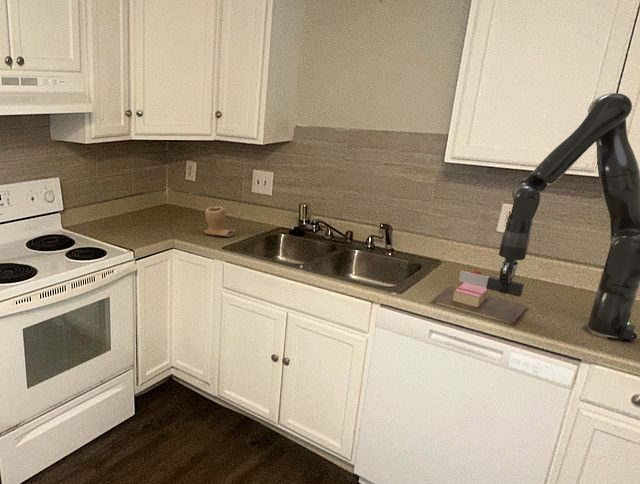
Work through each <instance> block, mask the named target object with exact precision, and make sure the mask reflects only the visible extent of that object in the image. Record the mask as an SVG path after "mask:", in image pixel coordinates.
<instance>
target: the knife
mask: <svg viewBox="0 0 640 484" xmlns="http://www.w3.org/2000/svg"><path fill="white" fill-rule="evenodd" d="M499 278H500V277H495V276H491V275H490V276H487V275H478V274H474V273H470V272H469V271H466V270H460V273H459V278H458V282H460V283H469V284H473V285H477V286H481V287H485V288H486V289H489V291H490V290H491V291H493V292H499V288H500V283H501V282H499ZM509 282H510V283H509V284H508V289H507V293H506V294H505V295H510V296H515V297H519V298H520V297H521V296H522V294H523V291H524V286H525V284H524V283H521V282H517V281H513V280H512V281H509ZM499 293H500V292H499Z"/></svg>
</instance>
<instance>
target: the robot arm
mask: <svg viewBox="0 0 640 484" xmlns="http://www.w3.org/2000/svg"><path fill="white" fill-rule="evenodd" d="M589 104H590V105H589V106H588V109H587V115H586V117H585V118H584V119H583V121H582V122H581V124H579V126H578V127H577V128H576V129H575V130H574V131H573V132H572V133H571V134H570V135H569V136H568V137H567V138H566V139H564V140H563V141H562V142H561V143H560V144H559V145H557V146H556V147H555V148H554V149H553V150H552V151H551V152H550V153H549V154H548V155H547V156H546V157H545V158H544V159H543V160H542V161H541V162H540V163H539V164H538V165H537V166H536V167H535V169H534V170H533V171H532V172H530V173H529V174H528V175H526V176H525V177H524V178H522V179H521V181H519V182H518V183H517V184H516V185H515V186H514V188H513V189H512V191H511V197H512V200H513V203H512V208H511V212H510V213H509V215H508V217H507V219H506V223H505V229H504V231H503V234H502V236H501V237H502V238H501V242H500V246H499V251H498V255H499V257H502V258H504V261H502V262H501V265H500V266H501V267H500V268H499V277H498V278H499V282H501V283H500V288H499V294H503V295H507V294H506V293H507V289H508V284H509V283H510V282H509V281H513V279H514V278H515V274H516V270H517V269H518V267H519V261H524V260H525V259H526V257H527V253H528V249H529V244H530V239H531V231H532V228H533V224H534V219H535V216H536V214H537V212H538V209H539V206H540V203H541V199H542V195H541V193H542V192H543V191H544V190H546V188H547V187H549V186H550V185H554V184H555V183H556V182H558V180H559V179H560V178H561V177H562V176H564V175H565V173H566V172H568V170H569V169H571V168H572V167H573V165H574V164H575V163H576V162H577V161H578V160H579V159H580V158H581V157H582V156H583V155H584V154H585V153H586V152H587V151H588V150H589V149H590V148H591V147H592V146H593V145H594V144H595V146H596V162H597V164H596V165H597V174H598V180H599V187H600V193H601V195H602V199H603V202H604V205H605V208H606V211H607V213H608V217H609V222H610V241H609V249H608V252H607V257H606V260H605V264H604V266H603V269H602V273H601V276H600V280H599V283H598V287H597V290H596V293H595V297H594V300H593V304H592V307H591V311H590V314H589V318H588V321H587V325H586V328H587V329H588V330H589V331H591V332H594V333H596V334H600V335H603V336H606V339H612V340H620V341H624V339H626V340H628V341H633V340H636V339H637V338H638V334H637V333H636V332H635V330H636V329H635V328H636V325H633V324H630V319H631V315H632V311H633V309H634V305H635V301H636V298H637V294H638V291H639V288H640V167H639V163H638V160H637V157H636V155H635V152H634V150H633V148H632V145H631V143H630V141H629V138H628V130H627V118H628V117H629V116H630V114H631V113H632V110H633V103H632V101H631V98H629V97H628V96H627V95H625V94H623V93H620V92H619V93H617V92H612V93H606V94H603V95H600V96H597V97H596V98H595V99H594V100H593V101H592V102H591V103H589Z"/></svg>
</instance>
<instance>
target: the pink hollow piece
mask: <svg viewBox="0 0 640 484" xmlns="http://www.w3.org/2000/svg"><path fill="white" fill-rule="evenodd" d="M226 215H227V213H226V208H224V207H223V206H221V205H220V206H219V205H218V206H210V207H208V208H206V209H205V211H204V216H205V220H206V223H207V229H205V230H204V234H206V235H211V236H217V237H225V238H231V237H232V236H234V235H235V234H236V233H237V230H235V229H230V228H226V227H225V222H226Z"/></svg>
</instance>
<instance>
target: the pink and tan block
mask: <svg viewBox="0 0 640 484" xmlns="http://www.w3.org/2000/svg"><path fill="white" fill-rule="evenodd" d="M481 297H482V294H478V293H473V292H469V291H465V290H461V289H456V290H455V291H454V296H453V301H455V302H459V303H463V304H467V305H470V306H474V307H478V306H479V305H480V301H481Z"/></svg>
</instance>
